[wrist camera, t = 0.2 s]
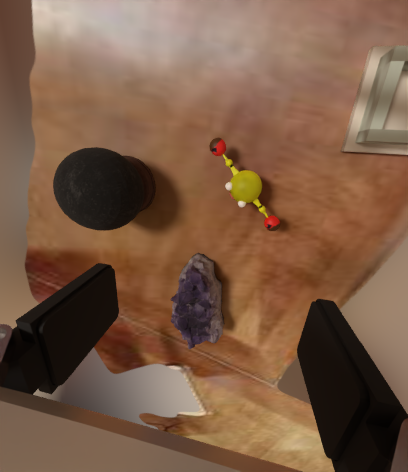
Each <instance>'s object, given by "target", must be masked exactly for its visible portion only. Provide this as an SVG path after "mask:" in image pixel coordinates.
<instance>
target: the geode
mask: <svg viewBox="0 0 408 472" xmlns="http://www.w3.org/2000/svg"><path fill="white" fill-rule="evenodd" d="M176 293H177V294H176V295H175V296H174V297H172V298H171V301H173V302H174V303H173V312H172V319H171V322H172V323H174V326H175V327H176V328H177V329H178V330H180V332H181V334H182V337H183V340H187V341H188V348H189V349H191V348H193V347H195V344H200V343H202V342H204V341H206V340H207V341H210V342H212V343H216V342H217V341H218V340H219V338H220V336H221V335H222V333H223V332H222V329H223V325H224V318H223V315H222V311H221V304H222V299H221V298H222V282H221V281H219V280H218V279H216V276H215V273H214V262H213V260H211V259H209V258H208V257H206V256H205V255H204V254H200V253H197V254H195V255H194V256H193V257H192V258H191V259H190V261H189V262H188V263H187V265H186V266H185V267H184V268H183V270H182V272H181V274H180V277H179V289H178V291H177V292H176Z"/></svg>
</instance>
